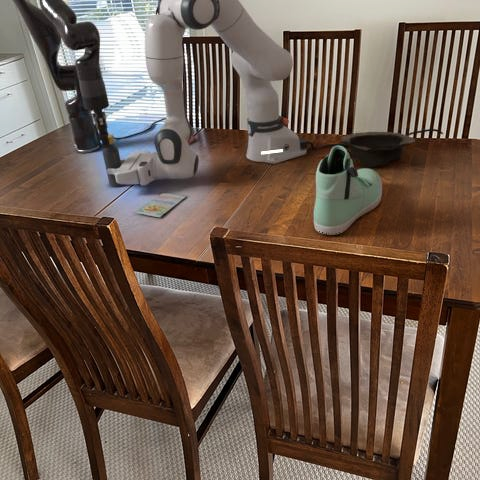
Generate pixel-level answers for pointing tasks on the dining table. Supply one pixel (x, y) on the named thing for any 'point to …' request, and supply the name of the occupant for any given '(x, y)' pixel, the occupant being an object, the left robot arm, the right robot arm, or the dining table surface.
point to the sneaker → (343, 192)
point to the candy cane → (191, 139)
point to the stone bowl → (376, 147)
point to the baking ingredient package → (160, 205)
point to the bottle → (112, 163)
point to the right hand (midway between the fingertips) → (111, 167)
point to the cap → (110, 138)
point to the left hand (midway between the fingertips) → (105, 143)
